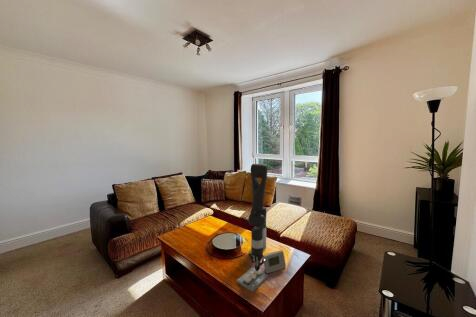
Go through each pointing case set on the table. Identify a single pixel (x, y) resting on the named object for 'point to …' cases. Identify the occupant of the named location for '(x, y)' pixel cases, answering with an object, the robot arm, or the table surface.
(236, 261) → the table surface
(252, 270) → the button board
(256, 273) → the button
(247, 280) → the button
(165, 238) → the table surface
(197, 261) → the table surface
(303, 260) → the table surface
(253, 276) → the button
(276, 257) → the digital clock
